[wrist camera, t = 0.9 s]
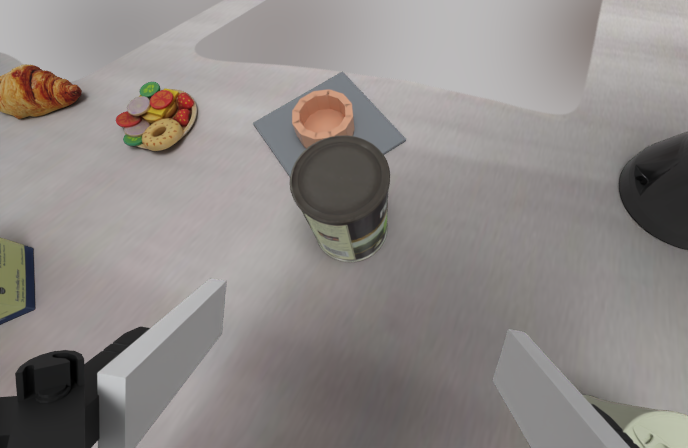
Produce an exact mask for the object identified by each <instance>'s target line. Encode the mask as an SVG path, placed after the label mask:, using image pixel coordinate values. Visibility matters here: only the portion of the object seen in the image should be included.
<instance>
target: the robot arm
mask: <svg viewBox="0 0 688 448" xmlns="http://www.w3.org/2000/svg"><path fill="white" fill-rule="evenodd" d="M619 184H620V193H621V197H622V200H623V202H624V205H625V206H626V208H627V210H628V211H629V213H630V214H631V216H632V217H633V218H634V219H635V220H636V221H637V222H638V223H639V224H640V225H641V226H642V227H643V228H644V229H645V230H647V231H648V232H649V233H651V234H652V235H654V236H655V237H657V238H659V239H660V240H662V241H664V242H667V243H669V244H671V245H674V246H677V247H680V248H683V249H687V250H688V132H685V133H682V134H680V135H677V136H674V137H671V138H669V139H666V140H663V141H660V142H658V143H655V144H653V145H651V146H649V147H647V148H646V149H644V150H643V151H641V152H640V153H639V154H637V155H636V156H635V157H634V158H632V159H631V160H630V161H629V162H628V163H627V164H626V166H625V167H624V169H623V171H622V173H621V176H620V183H619ZM225 293H226V281H224V280H219V279H213V278H210V279H209V280H207V281H206V282H205V283H204V284H203V285H201V286H200V287H199V288H198V289H197V290H196V291H194V292H193V293H192V294H191V295H190V296H188V297H187V298H186V299H185V300H184V301H182V302H181V303H180V304H179V305H178V306H176V307H175V308H174V309H173V310H172V311H170V312H169V313H168V314H167V315H166V316H165V317H163V318H162V319H161V320H160V321H159V322H157V323H156V324H155V325H154V326H153V327H151V328H146V327H138V328H136V329H134V330H131V331H129V332H127V333H125V334H123V335H122V336H121V337H119V338H118V339H117V340H116V341H114V342H113V344H110V345H109V346H108V347H106V348H105V349H104V351H101V352H100V353H99V354H97V355H96V356H95V357H93V358H92V359H91V360H90V361H88V362H87V363H86V364H84V358H83V356H82V354H80V353H78V352H76V351H68V350H63V351H53V352H50V353H46V354H42V355H39V356H37V357H35V358H33V359H30V360H28V361H27V362H26V363H24V364H23V365H22V366H20V367H19V369H18V370H17V372H16V373H15V375H16V388H17V396H12V397H0V448H91V447H92V446H93V445H94V444H95V443H96V442H97V441H98V448H135V447H136V446H137V445H138V443H139V442H140V441H141V439H142V438H143V437H144V435H145V434H146V433H147V431H148V430H149V429H150V427H151V426H152V425H153V424H154V422H155V421H156V420H157V418H158V417H159V416H160V414H161V413H162V412H163V410H164V409H165V408H166V407H167V405H168V404H169V403H170V401H171V400H172V399H173V397H174V396H175V395H176V393H177V392H178V391H179V389H180V388H181V387H182V386H183V384H184V383H185V382H186V380H187V379H188V378H189V376H190V375H191V374H192V372H193V371H194V370H195V369H196V367H197V366H198V365H199V363H200V362H201V361H202V359H203V358H204V357H205V355H206V354H207V353H208V351H209V350H210V349H211V348H212V346H213V345H214V344H215V342H216V341H217V340H218V338H219V337H220V336H221V334H222V328H223V317H224V305H225ZM493 382H494V384H495V386H496V388H497V389H498V391H499V393H500V395H501V396H502V398H503V400H504V401H505V403H506V405H507V407H508V408H509V410H510V412H511V414H512V415H513V417H514V419H515V421H516V422H517V424H518V426H519V428H520V429H521V431H522V433H523V434H524V436H525V438H526V440H527V441H528V443H529V445H530V447H531V448H640V447H639V446H638V445H637V444H635V443H633V440H632V439H631V438H630V437H629V436H628V435H627V434H626V433H625V432H623V429H622V428H621V427H620V426H619V425H618V424H617V423H616V422H615V421H614V420H613V419H612V418H611V417H610V416H609V415H608V414H606V413H605V412H604V411H602V410H601V409H600V408H598V407H597V406H596V405H594V404H590V403H589V402H588V401H587V400H586V399H585V397H584V396H583V395H582V394H581V393H580V392H579V391H578V390H577V389H576V388H575V386H574V385H573V384H572V383H571V382H570V381H569V380H568V379H567V378H566V377H565V375H564V374H563V373H562V372H561V371H560V370H559V369H558V368H557V367H556V366H555V365H554V363H553V362H552V361H551V360H550V359H549V358H548V357H547V356H546V355H545V354H544V352H543V351H542V350H541V349H540V348H539V347H538V346H537V345H536V344H535V343H534V341H533V340H532V339H531V338H530V337H529V336H528V335H527V334H526V333H525V332H523V331H517V330H511V329H508V331H507V334H506V338H505V341H504V344H503V347H502V351H501V354H500V357H499V361H498V364H497V367H496V371H495V374H494V377H493Z"/></svg>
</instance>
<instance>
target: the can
mask: <svg viewBox="0 0 688 448" xmlns="http://www.w3.org/2000/svg"><path fill="white" fill-rule="evenodd" d="M583 396H584V397H585V399H586V400H587V401H588V402H589V403H590V404H594V405H596V406H597V407H598V408H600V409H601V410H602V411H604V412H605V413H606V414H608V415H609V416H610V417H611V418H612V419H613V420H614V421H615V422H616V423H617V424H618V425H619V426H620V427H621V428H622V429H623V432H625V433H626V434H627V435H628V436H629V437H630V438H631V439H632V440H633V443H635V444H637V445H638V446H639V447H640V448H688V415H685V414H682V413H678V412H673V411H667V410H655V409H649V408H643V407H637V406H632V405H626V404H621V403H615V402H610V401H605V400H601V399H598V398H596V397H592V396H588V395H583Z"/></svg>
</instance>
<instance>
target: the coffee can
mask: <svg viewBox="0 0 688 448" xmlns="http://www.w3.org/2000/svg"><path fill="white" fill-rule="evenodd" d="M389 184H390V170H389V166H388V163H387V160H386V158H385V157H384V155H383V154H382V152H381V151H380V150H379V149H378V148H377V147H376V146H375V145H373V144H372V143H370V142H368V141H366V140H364V139H362V138H359V137H355V136H348V135H340V136H332V137H328V138H325V139H322V140H319V141H317V142H316V143H314V144H312V145H311V146H309V147H308V148H307V149H306V150H305V151H303V152H302V154H301V155H300V156H299V157H298V159H297V160H296V162H295V164H294V166H293V168H292V171H291V175H290V190H291V193H292V196H293V198H294V200H295V202H296V204H297V206H298V207H299V208H300V209H301V210H302V212H303V214H304V216H305V218H306V220H307V222H308V224H309V225H310V227H311V229H312V231H313V233H314V235H315V236H316V238H317V241H318V243H319V245H320V247H321V248H322V250H323V251H324V252H325V253H326V254H327V255H329V256H330V257H332V258H334V259H336V260H339V261H343V262H357V261H361V260H364V259H367V258H369V257H370V256H372V255H373V254H375V253H376V252H377V251H378V250H379V249H380V247H381V246H382V244H383V243H384V241H385V238H386V235H387V207H388V189H389Z"/></svg>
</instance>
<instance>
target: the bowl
mask: <svg viewBox="0 0 688 448" xmlns="http://www.w3.org/2000/svg"><path fill="white" fill-rule="evenodd" d="M292 124H293V127H294V129H295V132H296V135H297V137H298V138H299V139H300V142H301V143H302V145H303V146H304V147H305V148H306V149H307V148H308V147H309V146H311V145H312V144H314V143H316V142H317V141H319V140H322V139H325V138H328V137H332V136H340V135H348V136H353V134H354V130H355V129H354V117H353V108H352V103H351V102H350V101H349V100H348V99H347V97H346V96H345V95H344V94H342V93H339V92H336V91H333V90H330V89H327V90H319V91H313V92H311V93H310V94H308V95H306V96H304V97H303V98H301V99H300V100H299V101H298V103H297V104H296V106H295V107H294V109H293V110H292Z"/></svg>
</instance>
